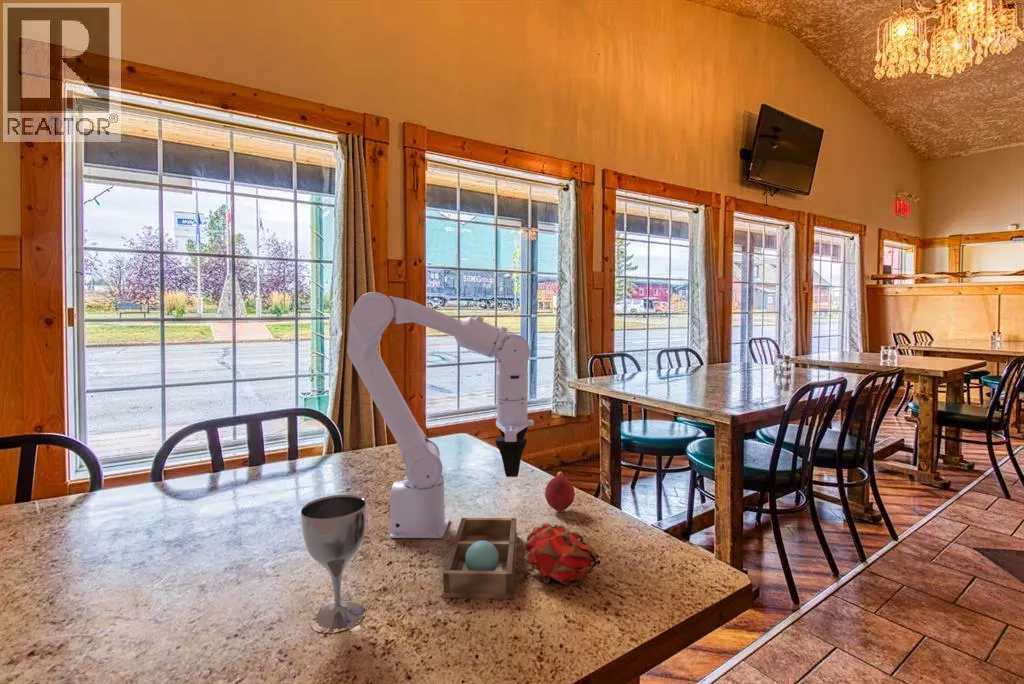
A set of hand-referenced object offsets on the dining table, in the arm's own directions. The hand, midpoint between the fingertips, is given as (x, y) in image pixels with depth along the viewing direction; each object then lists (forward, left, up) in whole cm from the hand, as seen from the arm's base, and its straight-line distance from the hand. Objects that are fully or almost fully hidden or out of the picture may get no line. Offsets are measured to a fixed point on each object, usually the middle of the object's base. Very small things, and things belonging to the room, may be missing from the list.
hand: (512, 469), depth 95 cm
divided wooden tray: (-4, -16, -10) cm, 19 cm away
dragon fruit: (+8, -20, -10) cm, 23 cm away
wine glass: (-22, -30, -10) cm, 39 cm away
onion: (+9, +4, -10) cm, 14 cm away
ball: (-4, -21, -7) cm, 22 cm away
